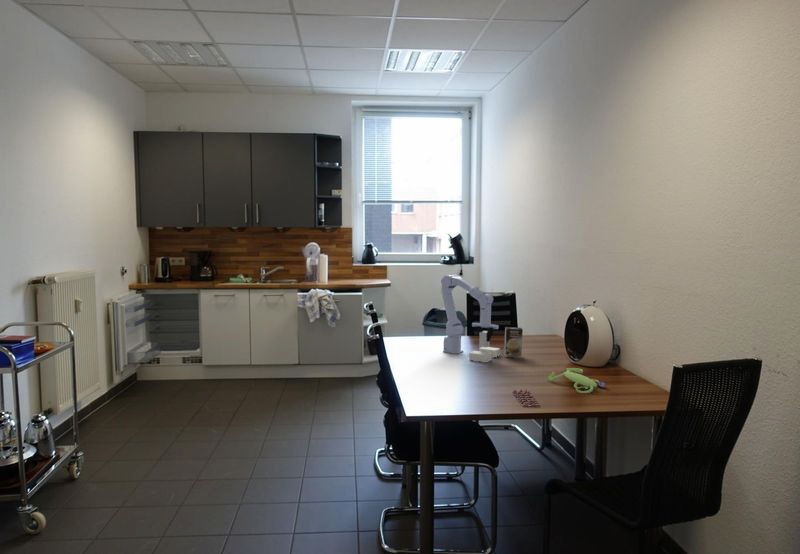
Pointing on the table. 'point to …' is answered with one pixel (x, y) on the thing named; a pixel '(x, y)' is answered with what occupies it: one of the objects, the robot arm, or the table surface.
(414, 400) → the table surface
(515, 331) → the coffee box
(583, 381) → the figurine
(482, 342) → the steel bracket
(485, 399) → the table surface
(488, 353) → the white block pair
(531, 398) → the chocolate bar
